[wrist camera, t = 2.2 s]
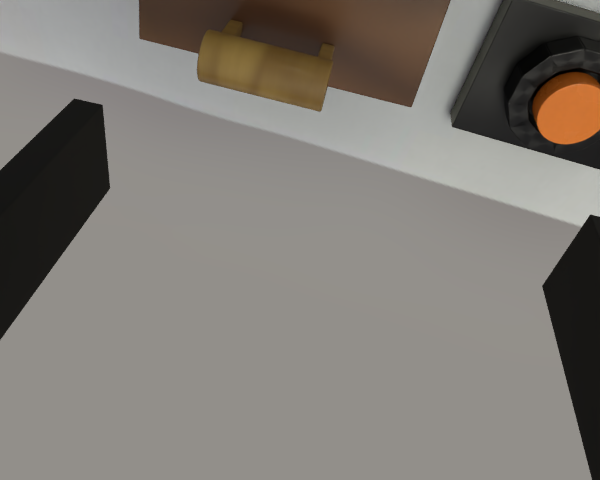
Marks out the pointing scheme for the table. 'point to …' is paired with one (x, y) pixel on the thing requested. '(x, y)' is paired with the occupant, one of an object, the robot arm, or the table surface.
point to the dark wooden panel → (302, 44)
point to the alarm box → (529, 74)
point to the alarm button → (568, 108)
